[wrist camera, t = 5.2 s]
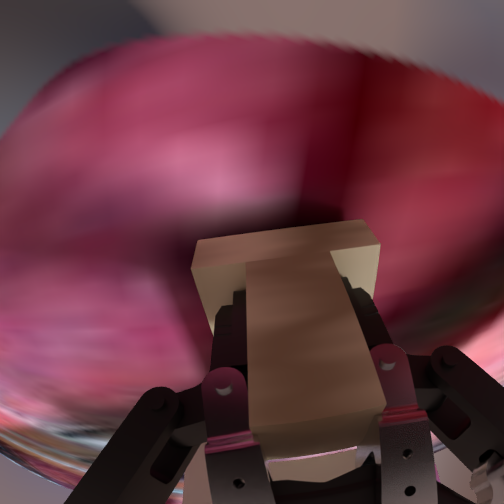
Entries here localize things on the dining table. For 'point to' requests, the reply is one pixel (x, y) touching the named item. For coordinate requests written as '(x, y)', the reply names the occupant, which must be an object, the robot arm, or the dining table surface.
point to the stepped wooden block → (299, 331)
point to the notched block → (307, 469)
